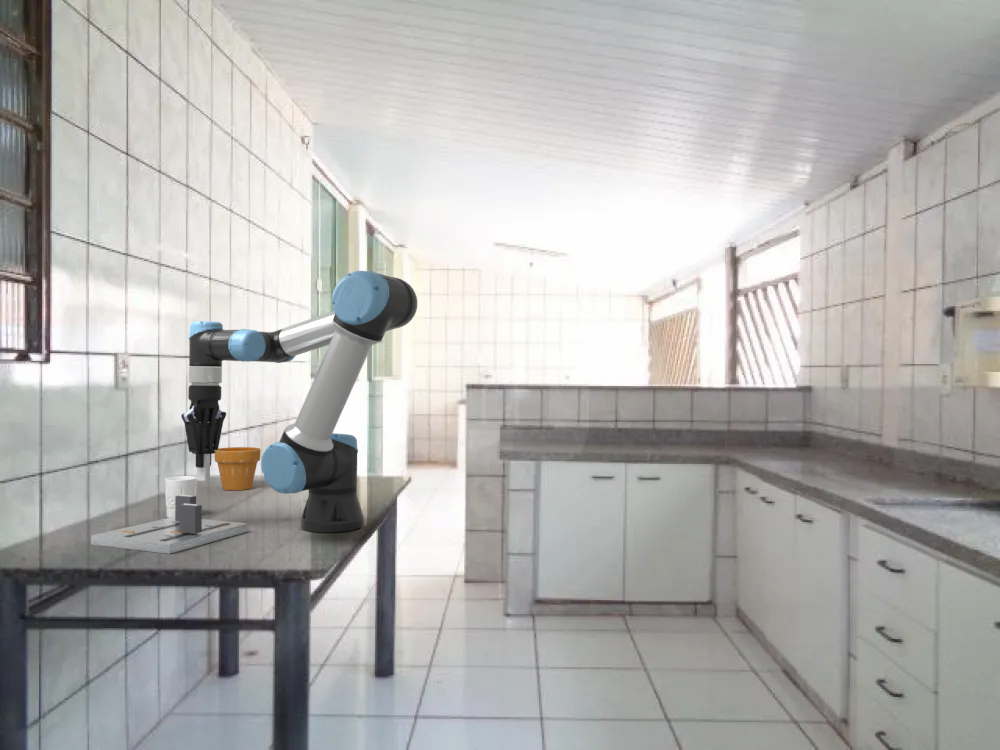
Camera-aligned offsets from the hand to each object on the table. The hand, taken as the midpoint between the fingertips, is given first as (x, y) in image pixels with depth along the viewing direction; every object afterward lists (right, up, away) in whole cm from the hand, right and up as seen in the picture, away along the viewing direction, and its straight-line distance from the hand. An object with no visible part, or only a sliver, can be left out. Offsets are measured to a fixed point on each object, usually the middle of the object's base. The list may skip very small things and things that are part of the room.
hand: (203, 480), depth 182 cm
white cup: (-11, -11, +13) cm, 20 cm away
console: (-2, -11, -13) cm, 18 cm away
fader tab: (-2, -9, -6) cm, 11 cm away
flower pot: (-13, -12, +60) cm, 63 cm away
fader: (+4, -9, -18) cm, 20 cm away
